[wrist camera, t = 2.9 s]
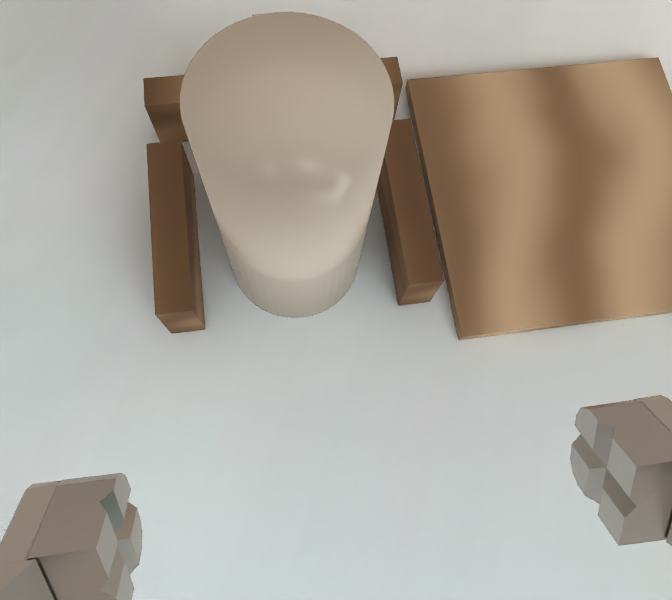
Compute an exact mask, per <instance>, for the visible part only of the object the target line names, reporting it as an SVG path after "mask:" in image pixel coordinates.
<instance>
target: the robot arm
mask: <svg viewBox="0 0 672 600" xmlns="http://www.w3.org/2000/svg"><path fill="white" fill-rule="evenodd" d="M575 426H576V428H577V429H578V430H579V432H580V433H581V434H580V435H579V437H578V438H577V439H576V440H575V441H574V442H573V443H572V446H571V456H570V460H571V466H572V471H573V475H574V477H575V479H576V482H577V484H578V486H579V487H580V489H581V490H582V492H583V494H584V495H585V496H586V497H588V498H590V499H592V500H594V501H595V502H597V503H599V504H600V505H599V511H598V516H599V518H600V519H601V521H602V522H603V523H604V525H605V526H606V528H607V529H608V531H609V532H610V534H611V535H612V537H613V538H614V540H615V541H616V543H617V544H618V546H620V545H628V544H635V543H643V542H651V541H658V540H666V539H667V541H666V542H667V543H668V544H670V545H671V546H672V401H671V400H669V399H668V398H666V397H664V396H661V395H658V396H651V397H645V398H639V399H634V400H629V401H622V402H616V403H609V404H602V405H596V406H589V407H582V408H580V410H579V411H578V413H577V415H576V420H575ZM130 491H131V488H130V485H129V483H128V480H127V477H126V475H124V474H122V473H117V474H108V475H100V476H91V477H83V478H74V479H66V480H62V481H54V482H46V483H37V484H32V485H31V486H30V487H29V488H27V489H26V491H25V492H24V494H23V496H22V498H21V500H20V503H19V505H18V507H17V509H16V511H15V513H14V515H13V517H12V519H11V521H10V524H9V526H8V528H7V530H6V532H5V534H4V536H3V538H2V540H1V543H0V600H132V596H133V591H134V586H133V583H132V580H131V577H130V574H131V573H132V571H133V570H134V569H135V568H136V567H137V566H138V565H139V562H140V556H141V551H142V527H141V520H140V516H139V513H138V509H137V508H136V507H135V506H133V505H132V504H130V503H129V502H128V499H129V495H130Z"/></svg>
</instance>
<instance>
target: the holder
mask: <svg viewBox="0 0 672 600" xmlns="http://www.w3.org/2000/svg"><path fill="white" fill-rule="evenodd" d="M380 59H381V61H382V63H383V64H384V66H385V68H386V70H387V72H388V75H389V77H390V80H391V84H392V87H393V94H394V114H393V119H392V125H391V129H390V133H389V137H388V141H387V146H386V150H385V154H384V158H383V162H382V167H381V171H380V175H379V179H378V184H377V190H378V196H379V201H380V207H381V212H382V218H383V223H384V229H385V234H386V240H387V245H388V251H389V256H390V262H391V267H392V273H393V278H394V284H395V289H396V295H397V300H398V306H399V305H407V304H415V303H423V302H430V300H431V299H432V297H433V296H434V294H435V293H436V291H437V290H438V288H439V287H440V285H441V284H442V282H443V281H444V278H443V274H442V269H441V264H440V259H439V255H438V250H437V245H436V240H435V235H434V231H433V226H432V221H431V216H430V212H429V207H428V202H427V197H426V192H425V188H424V183H423V178H422V173H421V169H420V164H419V159H418V154H417V149H416V145H415V140H414V135H413V130H412V125H411V121H410V119H404V120H394V117H395V113H396V109H397V105H398V100H399V96H400V92H401V88H402V83H403V82H402V78H401V73H400V68H399V63H398V59H397V57H390V58H380ZM184 76H185V75H179V76H167V77H155V78H144V79H143V81H144V101H145V108H146V110H147V112H148V115H149V117H150V119H151V122H152V124H153V126H154V129H155V131H156V133H157V135H158V138H159V140H160V142H161V143H150V144H147V161H148V181H149V200H150V220H151V240H152V260H153V280H154V300H155V315H156V316H157V317H158V319H159V320H160V321H161V322H162V323H163V324H164V325H165V326H166V327H167V329H168V330H169V331H170V332H171V333H180V332H188V331H196V330H204V329H205V320H204V307H203V294H202V281H201V268H200V255H199V242H198V229H197V216H196V202H195V189H194V176H193V172H192V170H191V167H190V164H189V162H188V159H187V156H186V153H185V151H184V148H183V145H182V143H181V141H187V140H188V137H187V134H186V131H185V128H184V125H183V122H182V118H181V111H180V92H181V86H182V82H183V79H184Z"/></svg>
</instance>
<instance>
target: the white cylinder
mask: <svg viewBox="0 0 672 600" xmlns="http://www.w3.org/2000/svg"><path fill="white" fill-rule="evenodd" d="M180 111H181V118H182V122H183V125H184V128H185V131H186V134H187V137H188V140H189V143H190V146H191V149H192V152H193V155H194V158H195V160H196V163H197V166H198V169H199V172H200V175H201V178H202V181H203V184H204V187H205V190H206V193H207V196H208V199H209V202H210V204H211V207H212V210H213V213H214V216H215V219H216V222H217V225H218V228H219V231H220V234H221V237H222V240H223V243H224V246H225V249H226V251H227V254H228V257H229V260H230V263H231V266H232V269H233V272H234V275H235V278H236V281H237V283H238V285H239V287H240V288H241V290H242V291H243V293H244V294H245V295H246V296H247V297H248V299H249V300H250V301H252V302H253V303H254V304H255V305H256V306H258V307H260V308H261V309H263V310H265V311H267V312H269V313H271V314H274V315H277V316H282V317H289V318H301V317H308V316H313V315H316V314H319V313H321V312H323V311H325V310H327V309H329V308H331V307H332V306H334V305H335V304H336V303H337V302H339V301H340V300H341V299H342V298H343V297H344V295H345V294H346V293H347V292H348V290H349V289H350V287H351V285H352V283H353V281H354V278H355V275H356V272H357V268H358V264H359V259H360V255H361V251H362V247H363V243H364V238H365V234H366V230H367V226H368V222H369V217H370V213H371V209H372V205H373V200H374V196H375V192H376V188H377V184H378V179H379V175H380V171H381V167H382V162H383V158H384V154H385V150H386V146H387V141H388V137H389V133H390V129H391V125H392V119H393V114H394V94H393V87H392V84H391V80H390V77H389V75H388V72H387V70H386V68H385V66H384V64H383V63H382V61H381V59H380V58H379V56H378V55H377V54H376V53H375V51H374V50H373V49H372V48H371V47H370V46H369V45H368V44H367V43H366V42H365V41H364V40H363V39H362V38H361V37H359V36H358V35H356V34H355V33H354V32H352V31H351V30H349V29H347V28H346V27H344V26H342V25H340V24H338V23H335V22H333V21H331V20H328V19H325V18H322V17H319V16H315V15H310V14H304V13H294V12H276V13H268V14H256V15H252V17H249V18H247V19H244V20H241V21H238V22H236V23H234V24H232V25H230V26H228V27H226V28H225V29H223V30H222V31H220V32H218V33H217V34H215V35H214V36H213V37H212V38H211V39H210V40H208V41H207V42H206V43H205V44H204V45H203V46H202V47H201V49H200V50H199V51H198V52H197V53H196V55H195V56H194V58H193V59H192V61H191V62H190V64H189V66H188V68H187V70H186V72H185V76H184V79H183V82H182V86H181V92H180Z"/></svg>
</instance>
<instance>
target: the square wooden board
mask: <svg viewBox="0 0 672 600" xmlns="http://www.w3.org/2000/svg"><path fill="white" fill-rule="evenodd" d="M406 91H407V96H408V101H409V106H410V110H411V115H412V120H413V125H414V129H415V134H416V139H417V144H418V148H419V153H420V158H421V163H422V167H423V172H424V177H425V182H426V186H427V191H428V196H429V201H430V205H431V210H432V215H433V220H434V224H435V229H436V234H437V239H438V243H439V248H440V253H441V258H442V262H443V267H444V272H445V277H446V281H447V286H448V291H449V296H450V300H451V305H452V310H453V315H454V319H455V324H456V329H457V334H458V338H459V340H462V339H470V338H478V337H486V336H493V335H501V334H509V333H516V332H524V331H532V330H540V329H547V328H555V327H563V326H570V325H578V324H586V323H594V322H601V321H609V320H617V319H625V318H632V317H640V316H648V315H655V314H663V313H671V312H672V93H671V90H670V87H669V85H668V82H667V79H666V77H665V74H664V71H663V68H662V66H661V63H660V60H659V58H647V59H636V60H624V61H613V62H602V63H591V64H579V65H568V66H557V67H546V68H534V69H523V70H512V71H500V72H489V73H478V74H467V75H455V76H444V77H433V78H422V79H410V80H407V84H406Z"/></svg>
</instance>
